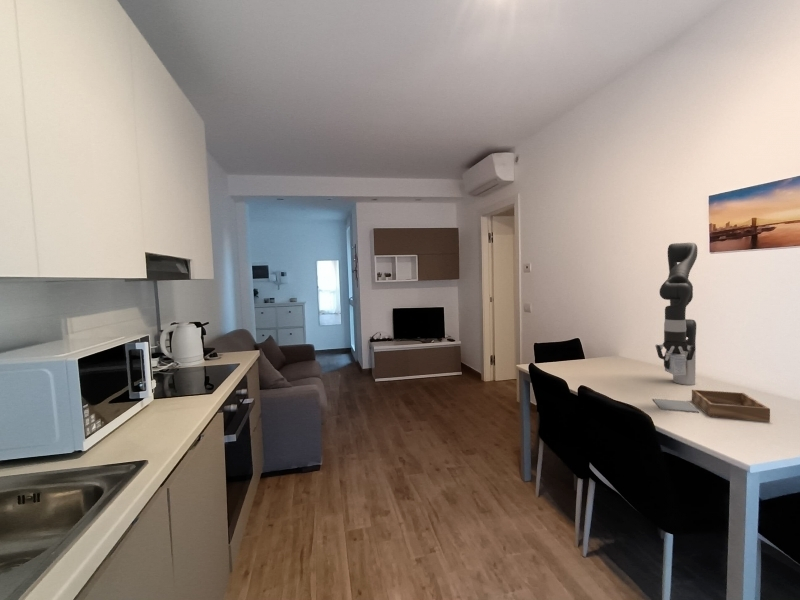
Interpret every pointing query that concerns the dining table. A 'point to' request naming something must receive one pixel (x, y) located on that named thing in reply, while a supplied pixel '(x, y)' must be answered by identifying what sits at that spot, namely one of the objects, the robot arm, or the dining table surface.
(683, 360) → the medicine box
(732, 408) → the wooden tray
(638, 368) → the dining table surface
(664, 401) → the slate mat
